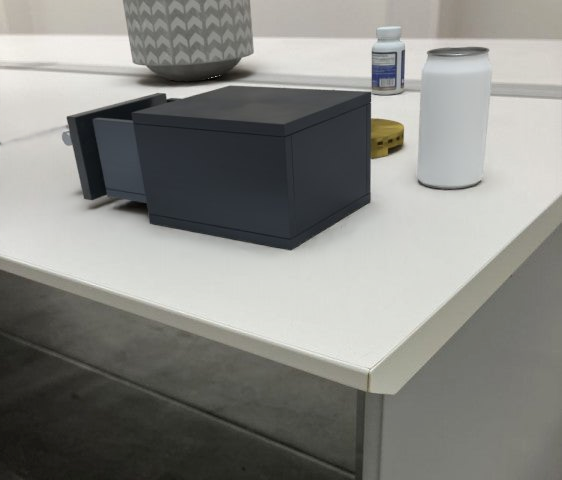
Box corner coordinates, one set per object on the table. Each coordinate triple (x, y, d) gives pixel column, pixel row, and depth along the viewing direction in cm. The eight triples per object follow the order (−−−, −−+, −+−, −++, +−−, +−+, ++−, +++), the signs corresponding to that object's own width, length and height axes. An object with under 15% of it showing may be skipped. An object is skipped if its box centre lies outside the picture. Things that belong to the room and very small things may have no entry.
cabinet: (149, 223, 63) (130, 112, 58) (239, 183, 73) (229, 85, 68) (290, 250, 55) (283, 124, 50) (370, 201, 65) (371, 91, 60)
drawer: (51, 193, 70) (32, 113, 66) (137, 163, 79) (125, 90, 75) (194, 219, 61) (182, 126, 56) (275, 181, 69) (269, 98, 65)
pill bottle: (388, 88, 117) (389, 25, 112) (410, 91, 113) (412, 26, 108) (364, 93, 114) (364, 28, 109) (387, 96, 111) (388, 29, 106)
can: (496, 181, 68) (510, 48, 62) (446, 194, 65) (455, 57, 59) (451, 168, 73) (460, 44, 66) (403, 180, 70) (407, 52, 64)
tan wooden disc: (381, 163, 76) (381, 143, 75) (287, 156, 82) (286, 137, 80) (417, 138, 85) (418, 120, 84) (330, 133, 90) (330, 116, 89)
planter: (179, 68, 157) (163, -54, 145) (275, 68, 147) (267, -63, 135) (111, 87, 139) (86, -51, 126) (216, 88, 129) (201, -62, 116)
